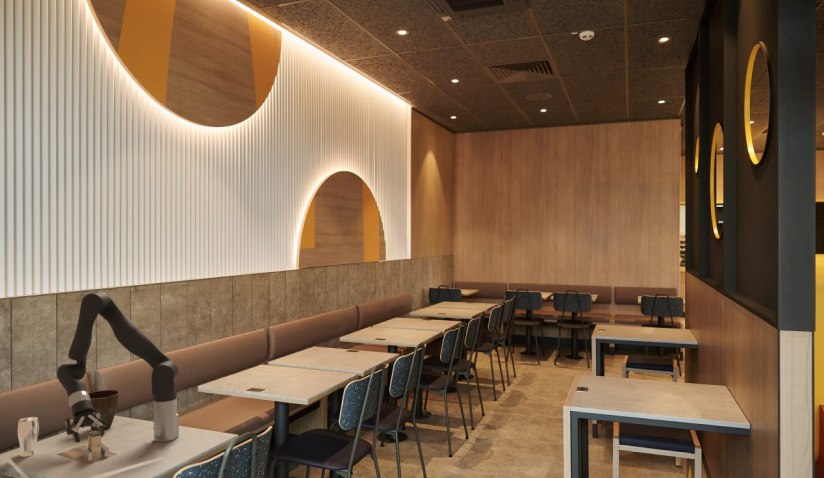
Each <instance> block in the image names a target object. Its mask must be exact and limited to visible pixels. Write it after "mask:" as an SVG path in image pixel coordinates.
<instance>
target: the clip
mask: <svg viewBox="0 0 824 478" xmlns="http://www.w3.org/2000/svg"><path fill="white" fill-rule="evenodd" d="M80 450H81V457H82V458H84V459H85V460H86V461H88V462H91V461H94V460H98V459H101V458H105V457H108V458H110V457H109V452H110V449H109V447H108V446H107V445H105V444H104V443H102V442H101V456H99V457H96V458H92V452H91V451H90V450H88V449H87V448H85V447H82V448H80Z"/></svg>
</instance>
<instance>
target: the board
mask: <svg viewBox="0 0 824 478" xmlns="http://www.w3.org/2000/svg"><path fill="white" fill-rule="evenodd" d="M82 447H85V448H87V449H88V445H84V444H83V445H79V446H78V447H74V448H71V449H67V450H66V451H63V452H62V451H61V452H59V453H56V455H57V456H60V457H64V458H68V459H71V460H74V461H78V462H82V463H86V464H88V465H92V464H95V463H98V462H100V461H103V460H106V459H108V458H111V457H113V456H117V453H116V452H115V453H114V452H111V451H109V457H105V458H101V459H98V460H94V461H91V462H88V461H86V460H85V459H84V458H82V457H81V450H80V448H82Z"/></svg>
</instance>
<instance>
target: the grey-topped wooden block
mask: <svg viewBox="0 0 824 478" xmlns="http://www.w3.org/2000/svg"><path fill="white" fill-rule="evenodd" d="M101 438H102V437H101V433H100V432H99V431H89V432H87V446H88V450H90V451H91V452H92V458H96V457H99V456H101V443H102V439H101Z"/></svg>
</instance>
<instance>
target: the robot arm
mask: <svg viewBox="0 0 824 478" xmlns="http://www.w3.org/2000/svg"><path fill="white" fill-rule="evenodd" d="M98 315H99V316H101V317H102V318H103V319H104V320H105V321H106V322H107V323H108V324H109V326H110V328H111V330H112V332H113V335H114V337H115V338H116V340H117V341H118V342H119V343H120V344H121V345H122V347H124V349H125V350H127V351H128V352H129V353H131V354H132V355H134V356H136V357H139V358H140V359H142V360H143V361H145V362H146V363H147V364H148V365H149V366H150V367H151V368H152V371H151V377H150V378H151V379H150V380H151V381H150V382H151V394H152V396H153V441H154V442H157V443H165V442H171V441H173V440H175V439H177V438H178V437H179V436H180V430H179V428H180V418H179V416H180V415H179V413H178V409H177V406H178V405H177V403H178V402H177V400H178V399H177V396H178V394H177V391H176V390H175V389H176V388H175V379H176V378H177V377H178V375H179V367H178V365H177V364H176V363H175V362H174V361H173V360H172V359H171V358H169V357H168V356H167V355H166V354H164V352H162V351H161V350H160V349H159V348H158V347H157V346H156V345H155V344H154V342H152V340H151V339H150V338H148V336H147V335H146V334H145V333H144V331H142V330H141V329H140V327H138V326H137V325H136V324H135V323H134V322H133V321H132V320H131V319H130V318H129V317H128V316H127V315H126V314H125V313H123V311H122V309H120V308H119V306H118V305H117V304H116V303H115V301H114V300H113V299H112V297H111V296H110V295H109V294H108V293H106V292H104V291H101V290H99V291H94V292H90V293H87V294H85V295H84V297H83V298H82V299H81V302H80V309H79V314H78V320H77V325H76V328H75V333H74V336H73V339H72V341H71V345H70V347H69V349H68V354H67V357H68V359H70V360H72V361H75V362H76V363H65V364H64V363H63V364H61V365H59V366H58V368H57V370H56V377H57V380H58V382H59V383H60V384H61V386H62V387H63V389H64V390H65V391H66V395H67V398H68V404H69V408H70V411H71V415H72V418H73V419H71V418H66V420H65V422H64V424H65V426H64V427H65V430H66V431H65V432H66V435H67V436H71V435H72V438H73V440H74V442H75V443H77V444H78V443H79V444H80V442H81V437H80V433H79V430H80V428H81V429H84V428H87V427H90V426H91V425H92V426H93V427H97V428H98V432H100V433H101V438H102V437H104V436H105V433H106V432H105V431H106V430H104V428H103V427H105V426H106V424H107V420H106V417H105V415H104V412H103V411H101V412H100V413H98V414H95V413H94V410H93V406H92V403H91V400H90V396H89V394H88V393H89V392H88V389H87V386H86V383H85V382H84V381H83V380H82V379H83V378H84V377H85V375H86V373H87V357H88V354H89V350H90V347H91V346H92V342H93V341H92V339H93V330H94V329H93V328H94V324H95V321H96V320H97V317H98ZM96 417H98V418H99V419H100V420H101V422H99V420H97V419H96ZM94 422H95V423H94ZM72 424H75V427H74V429H72Z"/></svg>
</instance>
